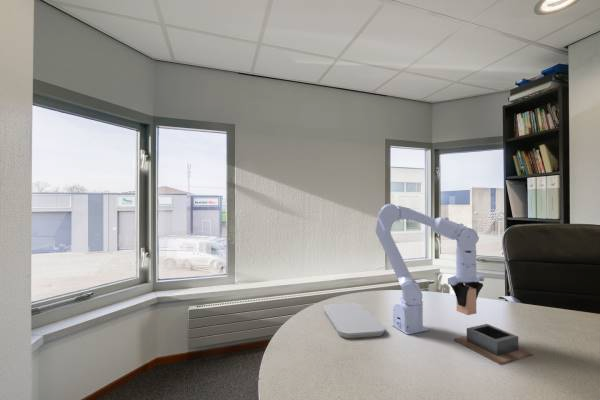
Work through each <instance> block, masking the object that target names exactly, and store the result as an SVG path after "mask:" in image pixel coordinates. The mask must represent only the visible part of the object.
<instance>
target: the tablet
mask: <svg viewBox="0 0 600 400" xmlns="http://www.w3.org/2000/svg"><path fill="white" fill-rule="evenodd" d="M322 309H323V312H324V313H325V315H326V316H327V318H328V319H329V321H330V322H331V324H332V325H333V327H334V329H335V330H336V332H337V333H338V335H339V336H340V337H342V338H344V339H354V338H366V337H367V338H370V337H381V336H382V335H383V334H384V333H385V332H386V327H385V326H384V325H383V324H382V323H381V322H380V321H379V320H378V319H377V318H376V317H375V316H374V315H373V314H372V313H371V312H370V311H368V309H367V308H365V307H364V306H363V305H362V304H360V303H356V302H349V303H348V302H346V303H329V304H324V305H323V306H322Z"/></svg>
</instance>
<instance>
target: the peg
mask: <svg viewBox="0 0 600 400" xmlns="http://www.w3.org/2000/svg"><path fill="white" fill-rule="evenodd" d="M455 298H456V297H455ZM456 312H459V313H461V314H464V315H465V316H466V315H467V316H472V315H476V314H477V300H476V289H475V288H472V287H470V288H469V290H468V292H467V297H466V306H465V307H463V306H460V305H458V301H457V298H456Z"/></svg>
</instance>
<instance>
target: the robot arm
mask: <svg viewBox="0 0 600 400" xmlns="http://www.w3.org/2000/svg"><path fill="white" fill-rule="evenodd" d="M398 218H399V220H408V219H409V220H410V221H411V220H412V221H413V222H414V221H415V222H416V223H419V224H422V225H425V226H426V227H427V226H428V227H429V228H431V229H432V232H433V233H435V234H437V235H439V236H443V237H445V238H447V239H449V240H452V241H453V240H455V241H456V249H455V251H456V253H455V254H456V255H455V256H456V258H455V262H456V263H455V265H456V267H455V268H456V275H453V276H451V277H448V278H447V285H450V287H451V288H452V290H453V292H454V294H455V298H457V299H456V302H457V301H458V305H460V306H463V307H465V306H466V297H467V292H468V290H469V288H470V287H472V288H475V289H476V301H478V297H479V293H480V291H481V290H482V288H483V287H484V284H483V283H482V282H485V275H483V274H479V273H477V271H478V270H477V268H478V267H477V246H476V245H477V243H478V242H479V240H480V237H479V235H478V233H477V231H476V230H475V229H473V228H471V227H467V226H466V225H465V224H463V223H461V222H459V223H457V222H455V221H452V220H450V219H449V217H448V216H447V217H446V216H444V217H442V216H439V217H436V218H433V217H431V216H429V215H427V214H424V213H421V212H419V211H417V210H415V209H411V208H410V207H405V206H401V205H396V204H393V203H387V204H384V205H383V206H381V208H380V210H379V212H378V213H377V220H376V226H375V234H376V236H377V238H378V241H379V242H380V244H381V247H382V249H383V250H384V253H385V255H386V257H387V259H388V261H389V263H390V266H391V268H392V270H393V272H394V275H395V276H396V278H397V280H398V282H399V286H400V288H401V293H402V296H401V297H400V300H399V302H398V303H395V304H394V305H393V306H392V307H393V309H392V323H391V326H392V327H394V328H396V329H397V330H399V331H400V332H402V333H404V334H406V335H412V334H417V333H421V332H422V333H423V332H427V331H429V328H428V327H427V326H425V325H424V320H423V319H424V318H423V317H424V315H423V314H424V313H423V312H424V311H423V310H424V309H423V308H424V307H423V305H424V304H423V303H424V301H423V293H422V290H421V287H420V284H419V282H418V281H416V280H415V279H414V278H413V276H412V273H411V272H410V270H409V269H408V267H407V265H406V261H405V260H404V259H403V256H402V254H401V253H400V250H399V248H398V246H397V244H396V242H395V240H394V238H393V236H392V234H391V232H390V231H391V230H392V226H393V225H394V224H395V222H396V221H397V220H398Z"/></svg>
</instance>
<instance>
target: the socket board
mask: <svg viewBox="0 0 600 400" xmlns="http://www.w3.org/2000/svg"><path fill="white" fill-rule="evenodd" d="M454 342H457V343H458V344H460V345H462V346H464V347H466V348H468V349H469V350H471V351H474V352H476V353H478V354H479V355H481V356H483V357H485V358H487V359H488V360H490V361H493V362H494V363H496V364H498V365H503V364H507V363H509V362H510V363H511V362H514V361H517V360H520V359H523V358H527V357H530V356H533V355H534V353H533V352H532V351H530V350H527V349H525V348H523V347H520V346H519V336H518V335H515V334H514V333H511V332H508V331H506V330H504V329H500V328H498V327H496V326H493V325H491V324H489V323H486V324H485V323H484V324H480V325H475V326H471V327H466V336H461V337H456V338H454Z"/></svg>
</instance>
